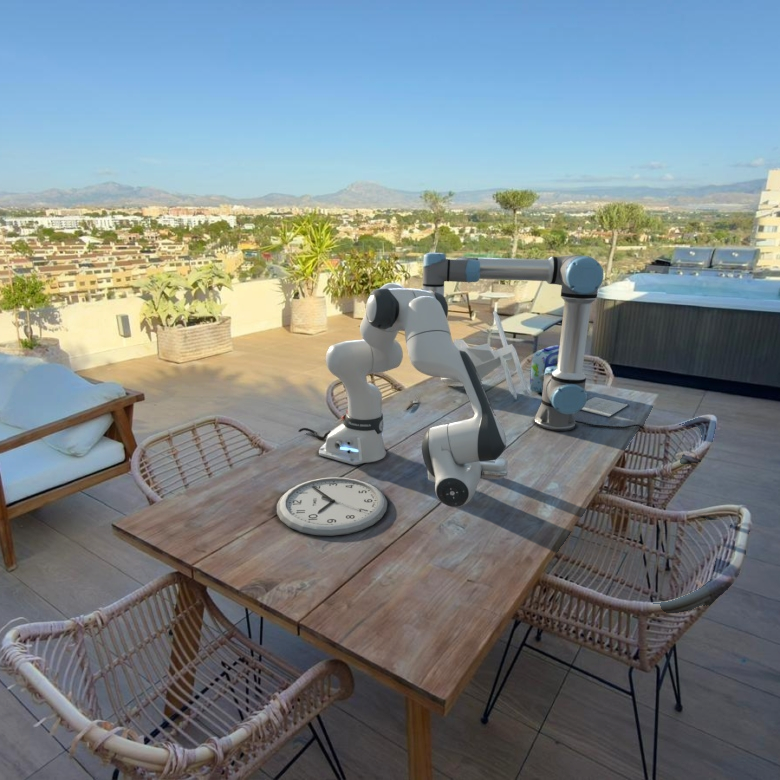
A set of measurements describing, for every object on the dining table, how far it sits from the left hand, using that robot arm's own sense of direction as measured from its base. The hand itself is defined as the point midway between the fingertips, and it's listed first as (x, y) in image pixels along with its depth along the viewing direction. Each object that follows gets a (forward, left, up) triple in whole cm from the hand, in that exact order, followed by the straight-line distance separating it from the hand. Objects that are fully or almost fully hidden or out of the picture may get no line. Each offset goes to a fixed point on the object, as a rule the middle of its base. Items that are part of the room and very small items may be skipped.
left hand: (470, 456), depth 140 cm
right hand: (-25, +51, +13) cm, 58 cm away
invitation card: (+38, +104, -15) cm, 112 cm away
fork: (-39, +75, -15) cm, 85 cm away
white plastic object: (-15, +104, -15) cm, 107 cm away
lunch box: (+15, +121, -15) cm, 122 cm away
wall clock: (-34, -13, -15) cm, 40 cm away
